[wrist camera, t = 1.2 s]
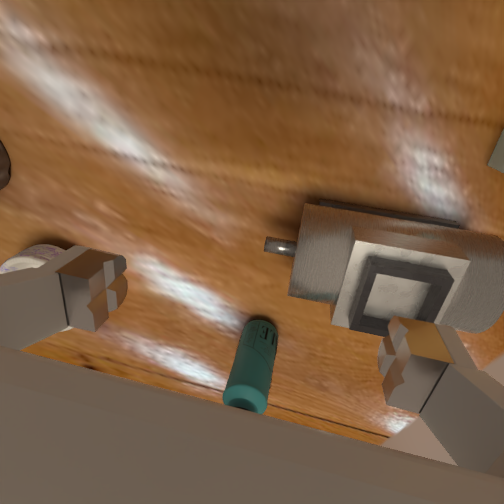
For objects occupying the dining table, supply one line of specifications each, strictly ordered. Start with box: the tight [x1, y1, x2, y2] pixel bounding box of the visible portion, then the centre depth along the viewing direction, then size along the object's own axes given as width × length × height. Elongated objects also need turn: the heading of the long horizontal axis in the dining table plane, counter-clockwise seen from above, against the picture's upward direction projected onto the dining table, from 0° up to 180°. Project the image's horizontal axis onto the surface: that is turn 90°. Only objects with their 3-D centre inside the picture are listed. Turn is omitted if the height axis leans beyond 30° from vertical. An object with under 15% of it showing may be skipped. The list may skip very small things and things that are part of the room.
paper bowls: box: [0, 244, 74, 331], centre depth 56 cm, size 15×15×8 cm
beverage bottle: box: [223, 320, 279, 414], centre depth 48 cm, size 6×7×20 cm
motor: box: [264, 199, 504, 337], centre depth 39 cm, size 12×26×16 cm, turn 84°
